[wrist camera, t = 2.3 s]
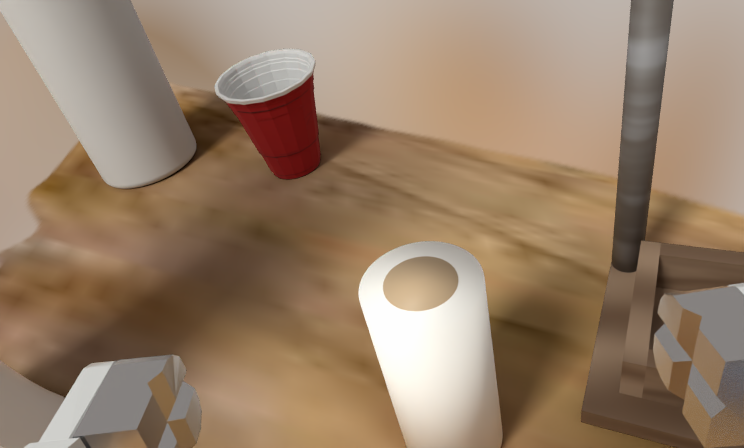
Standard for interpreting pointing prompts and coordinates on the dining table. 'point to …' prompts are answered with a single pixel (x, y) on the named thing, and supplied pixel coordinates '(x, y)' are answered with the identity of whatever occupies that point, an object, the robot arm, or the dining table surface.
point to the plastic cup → (276, 108)
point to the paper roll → (434, 344)
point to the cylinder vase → (106, 85)
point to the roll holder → (644, 261)
